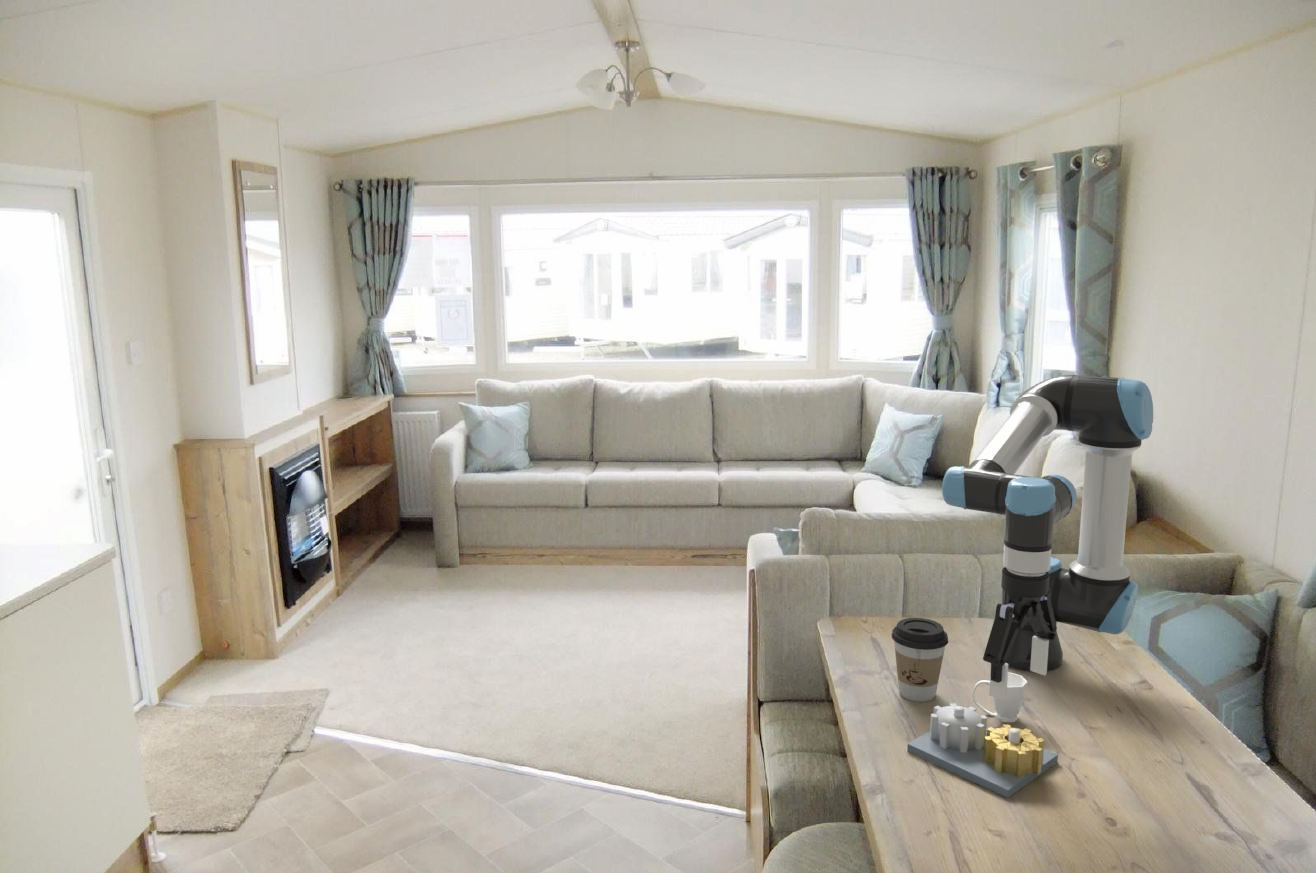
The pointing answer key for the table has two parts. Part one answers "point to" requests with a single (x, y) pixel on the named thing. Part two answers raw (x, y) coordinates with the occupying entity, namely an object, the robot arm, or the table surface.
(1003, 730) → the brass gear
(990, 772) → the gear board
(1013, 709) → the cup
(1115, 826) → the table surface
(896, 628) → the coffee cup
